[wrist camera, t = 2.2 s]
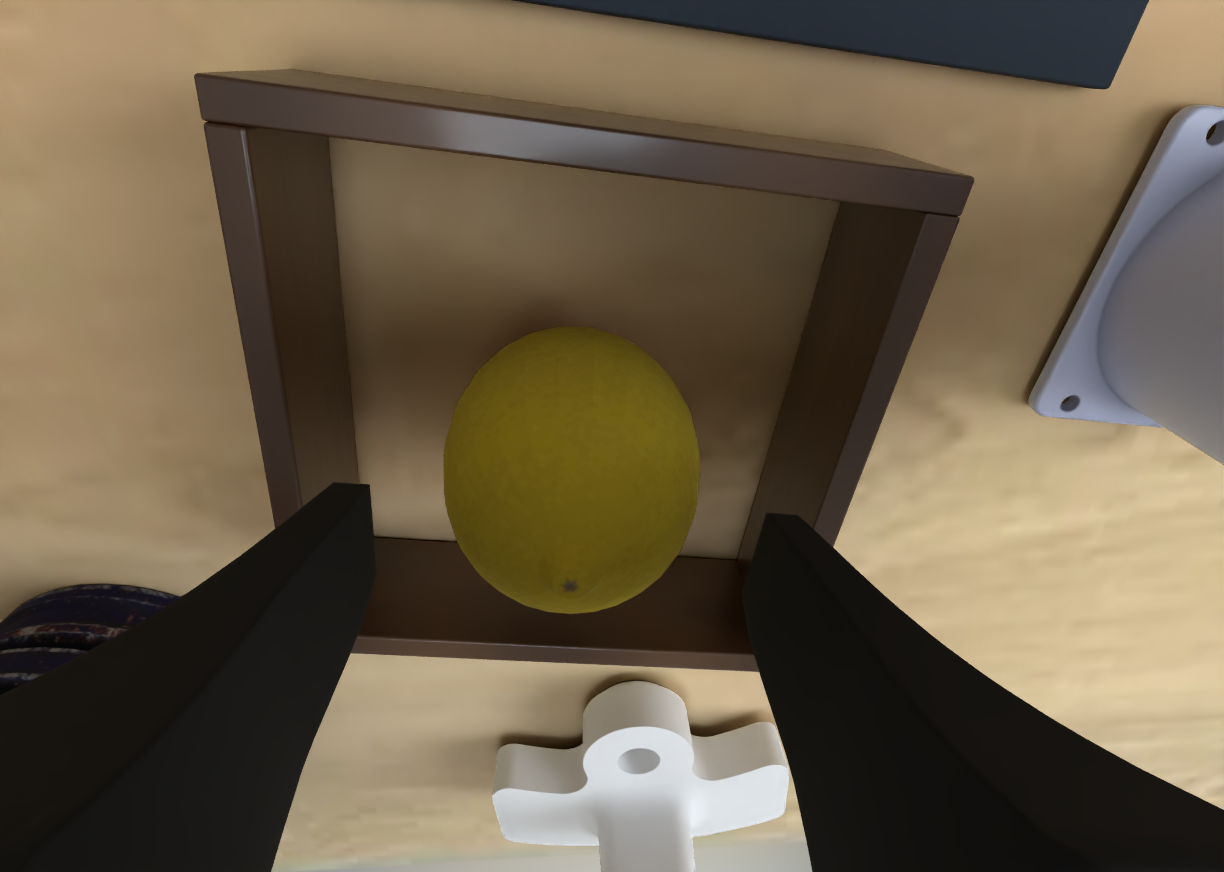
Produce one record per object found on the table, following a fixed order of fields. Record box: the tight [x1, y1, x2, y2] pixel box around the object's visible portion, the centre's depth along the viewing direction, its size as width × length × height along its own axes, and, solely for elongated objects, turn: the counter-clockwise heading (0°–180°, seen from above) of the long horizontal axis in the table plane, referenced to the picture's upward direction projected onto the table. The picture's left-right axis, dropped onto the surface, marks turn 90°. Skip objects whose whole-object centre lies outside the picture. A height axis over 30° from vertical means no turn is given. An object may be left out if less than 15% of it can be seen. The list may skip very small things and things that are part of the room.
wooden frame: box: [194, 69, 974, 672], centre depth 16 cm, size 13×13×4 cm
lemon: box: [444, 326, 700, 614], centre depth 14 cm, size 6×6×8 cm
